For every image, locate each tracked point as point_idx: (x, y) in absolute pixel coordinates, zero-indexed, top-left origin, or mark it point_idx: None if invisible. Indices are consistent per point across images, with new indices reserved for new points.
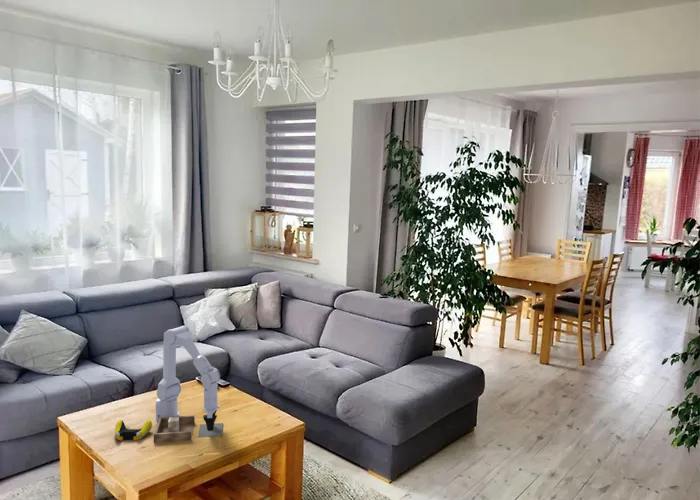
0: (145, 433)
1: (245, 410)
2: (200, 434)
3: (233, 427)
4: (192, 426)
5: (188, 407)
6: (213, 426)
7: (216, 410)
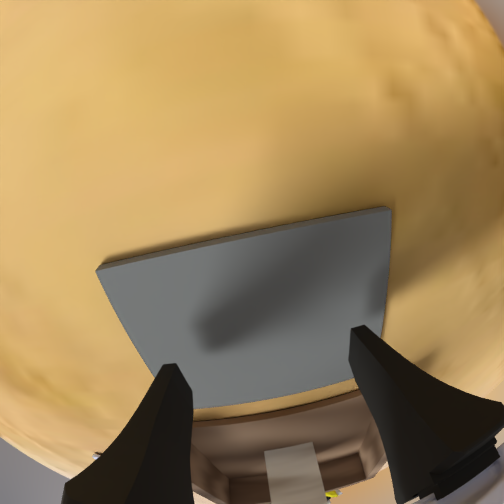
0: None
1: None
2: (337, 373)
3: (152, 121)
4: (216, 429)
5: (42, 429)
6: (395, 351)
7: (134, 481)
